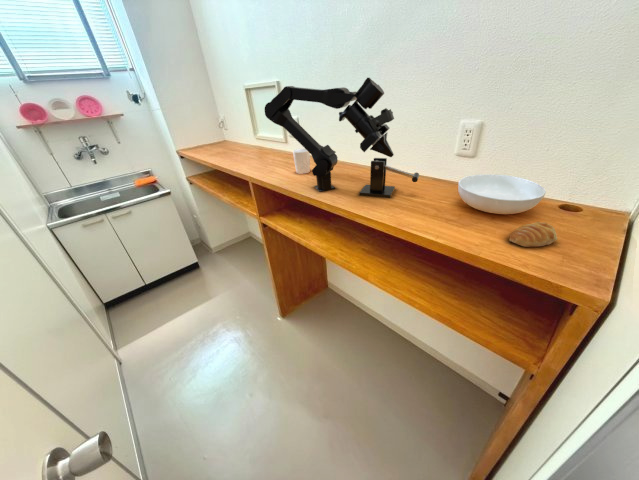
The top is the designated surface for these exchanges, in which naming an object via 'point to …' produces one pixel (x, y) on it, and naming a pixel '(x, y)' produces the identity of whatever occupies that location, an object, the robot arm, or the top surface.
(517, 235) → the pastry
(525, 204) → the serving bowl
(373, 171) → the bracket
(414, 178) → the lever
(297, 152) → the white cup
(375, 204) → the top surface
